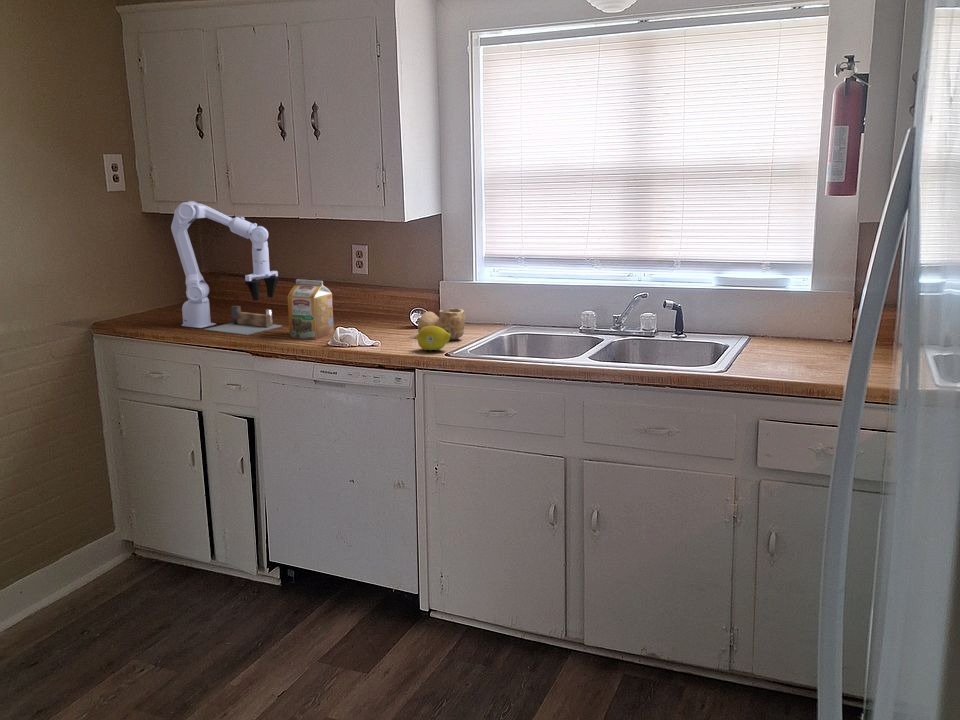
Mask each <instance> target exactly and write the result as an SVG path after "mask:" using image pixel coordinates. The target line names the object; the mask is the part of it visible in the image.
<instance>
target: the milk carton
mask: <svg viewBox="0 0 960 720" xmlns="http://www.w3.org/2000/svg"><path fill="white" fill-rule="evenodd" d="M333 309H334V308H333V293H332V292H331V290H330V289H329V288H328V287H326V286H325V285H324V281H323V280H314V279H313V280H311V279H310V280H309V279H298V278H297V279H295V284H294V285H293V287H292V288H291V290H289V293H288V294H287V311H288V312H287V313H288V329H289V338H291V337H292V338H293V339H301V338H302V340H312V339H313V341H317V340H321V339H322V338H326V337H329V336H331V335H334V334H333V332H334V331H335V330H334V312H333V311H334V310H333ZM334 333H335V332H334ZM328 335H329V336H328Z"/></svg>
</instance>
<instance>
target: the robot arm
mask: <svg viewBox="0 0 960 720" xmlns="http://www.w3.org/2000/svg"><path fill="white" fill-rule="evenodd" d="M173 212H174V214H173V218H172V222H171V225H170V229H171V234H172V236H173V239H174V243H175V246H176V249H177V252H178V256H179V259H180V263H181V266H182V268H183V272H184V275H185V286H186V291H185V295H186V298H187V300H186V301H184V303H183V304H182V308H181V312H182V314H181V315H182V324H181V326H182V327H188V328H195V329H196V328H197V329H202V328H203V329H204V328H207V327H213V326H215V325H216V326H217V322H216V323H215V322H212V321H211V309H210V306H211V305H210V298H208V295H209V294H210V286H209V285H208V283H207V282H206V281H205V279H204V277H203V275H202V273H201V271H200V268H199V265H198V262H197V258H196V254H195V251H194V248H193V246H192V243H191V239H190V235H189V233H188V229H189V227H190V226H191V224H192V223H193V222H194V221H195V220H196V219H205V218H206V219H209V220H212V221H214V222H216V223H220V224H222V225H224V226H226V227H228V228H229V230H230V232H232V233H233V234H236V235H238V236H240V237H242V238H245V239H247V240H249V239H250V241H251V255H252V257H251V258H252V269H253V271H252V272H253V273H250V274H245V276H244V277H245V279H244V280H245V281H244V284H245V285H246V286H247V289H248V291H249V292H250V295H251V298H252V300H253V301H259V299H260V285H261V281H258V280H262V279H263V280H264V283H265V287H266V295H267V298H274V295H275V291H276V290H275V289H276V286H277V284H278V282H279V279H280V277H279V272H278V270H271V269H270V256H269V255H270V254H269V253H270V252H269V243H268V238H269V231H268V229H267V228H266V227H264V226H262V225H258V223H256V222H254V223H253V222H250V221H248V220H246V218H245V217H244V216H240V217H239V216H235V217H231V216H228V215H227V214H224V213H222V212H220V211H218V210H216V209H215V208H213V207H210V206H208V205H206V204H203V203H198V202H197V201H195V200H189V201H184V202H180V204H178V206H177V207H176V209H175V210H174V211H173Z"/></svg>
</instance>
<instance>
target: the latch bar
mask: <svg viewBox="0 0 960 720" xmlns="http://www.w3.org/2000/svg"><path fill="white" fill-rule="evenodd" d="M230 308H231V320H232V322H231V323H233V324H245V325H253V326H262V327H269V326H270V315H266V313H265V314H264V313H263V314H262V313H257V312H256V313H255V312H245V311H242V309H241V306H240V305H232V306H231V307H230Z"/></svg>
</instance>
